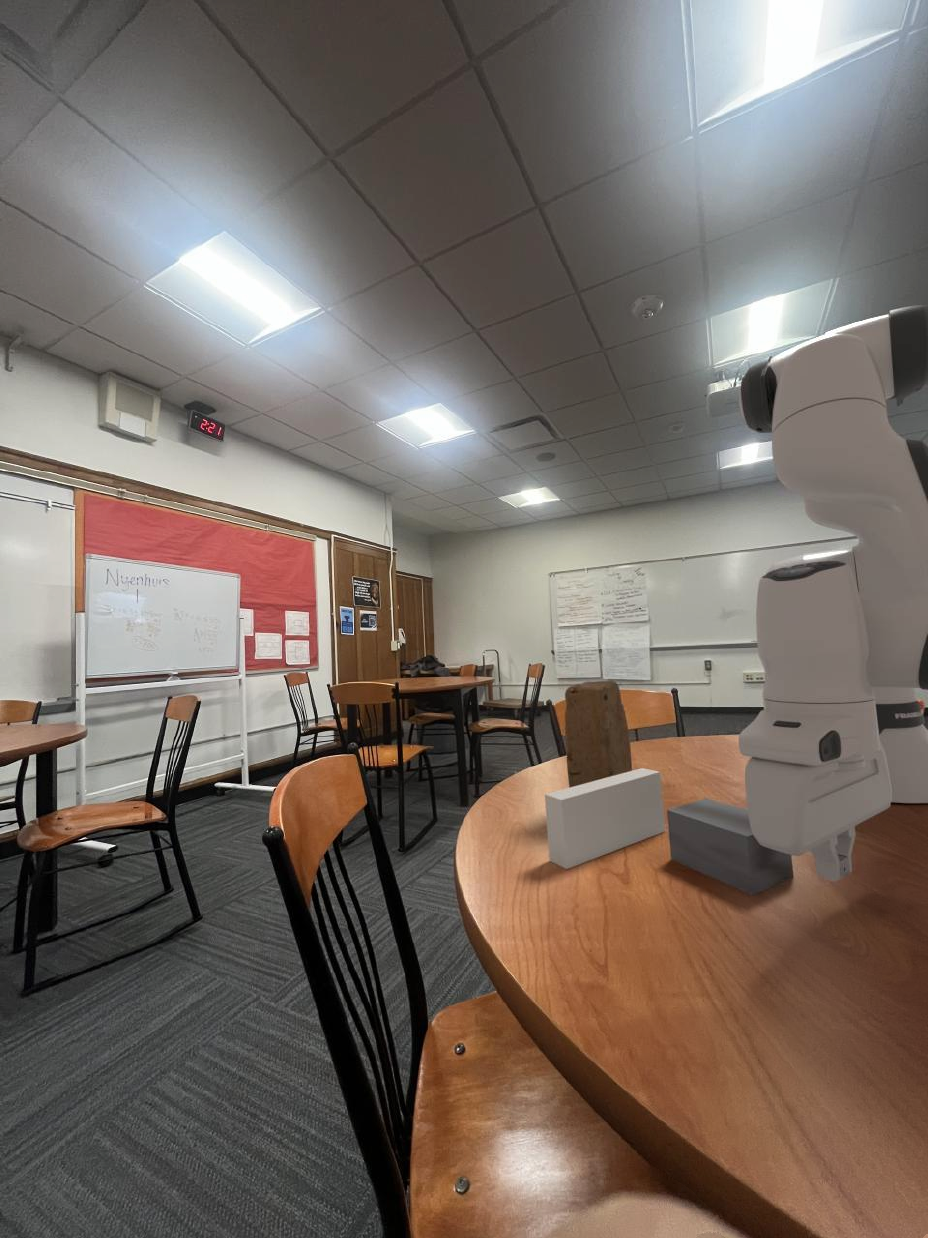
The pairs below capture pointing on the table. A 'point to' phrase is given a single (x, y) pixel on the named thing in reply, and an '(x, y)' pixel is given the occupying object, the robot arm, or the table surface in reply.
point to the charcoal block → (724, 846)
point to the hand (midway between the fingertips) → (834, 875)
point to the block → (595, 732)
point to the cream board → (603, 816)
